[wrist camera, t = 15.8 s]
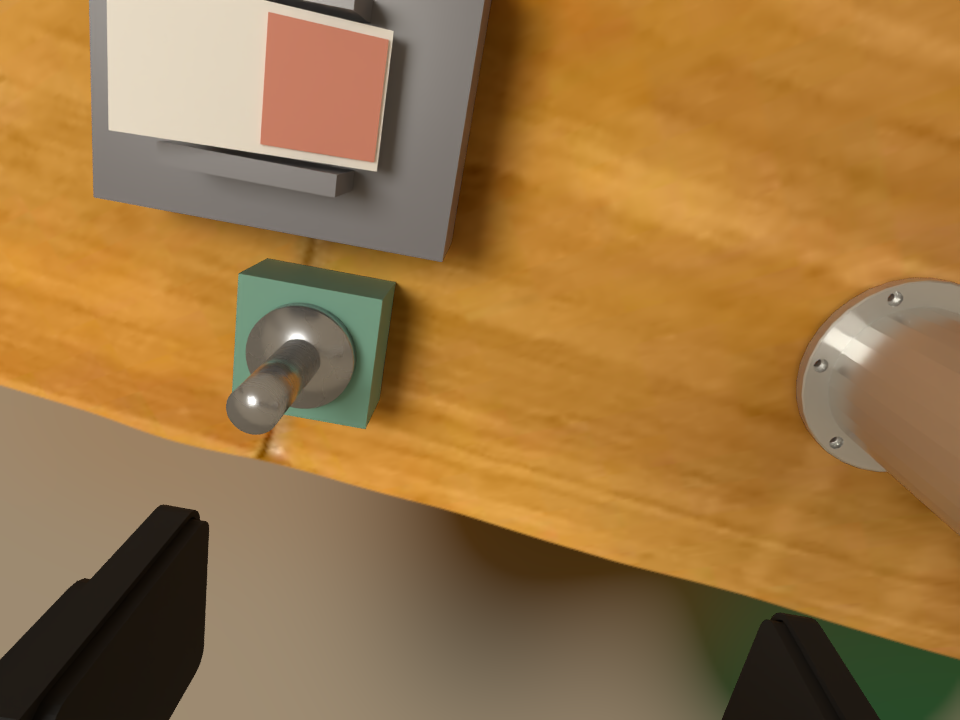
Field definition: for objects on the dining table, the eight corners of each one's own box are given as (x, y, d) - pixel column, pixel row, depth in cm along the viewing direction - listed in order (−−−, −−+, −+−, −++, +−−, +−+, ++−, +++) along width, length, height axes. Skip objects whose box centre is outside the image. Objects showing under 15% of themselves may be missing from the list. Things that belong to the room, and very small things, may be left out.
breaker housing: (494, -18, 34) (490, -70, 25) (451, 243, 39) (435, 276, 30) (156, -84, 34) (30, -162, 25) (154, 187, 38) (47, 204, 29)
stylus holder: (395, 282, 40) (382, 300, 36) (379, 399, 42) (365, 429, 38) (267, 258, 40) (238, 273, 35) (259, 377, 42) (231, 405, 38)
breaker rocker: (386, 33, 30) (394, 30, 28) (370, 167, 32) (377, 172, 30) (113, -32, 25) (105, -39, 24) (115, 127, 27) (107, 130, 26)
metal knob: (376, 296, 40) (324, 361, 28) (364, 385, 42) (311, 479, 30) (279, 277, 39) (188, 336, 28) (272, 368, 41) (185, 456, 30)
